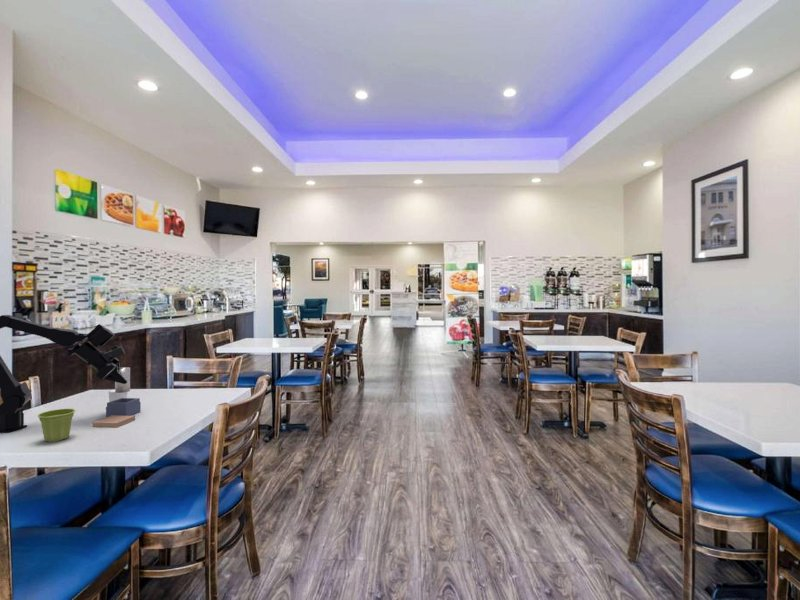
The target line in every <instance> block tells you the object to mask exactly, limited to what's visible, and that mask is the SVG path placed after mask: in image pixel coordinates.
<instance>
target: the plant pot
mask: <svg viewBox="0 0 800 600" xmlns="http://www.w3.org/2000/svg"><path fill="white" fill-rule="evenodd" d="M75 412H76V409H75V408H60V409H52V410H51V409H50V410H47V411H44V412H40V413H38V414H37V417H38V418H39V421H40V424H41V428H42V434H43V438H44V440H43V441H44V442H49V443H53V442H54V443H55V442H60V441H62V440H64V439H68V438H69V437H70V434H71V433H70V432H71V425H72V420H73V417H74V414H75Z"/></svg>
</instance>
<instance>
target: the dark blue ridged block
mask: <svg viewBox="0 0 800 600" xmlns="http://www.w3.org/2000/svg"><path fill="white" fill-rule="evenodd" d="M141 403H142V402H141V400H140V398H139V397H134V398H133V397H127V398H120V399H117V400H114V401H111V402H109V401H108V402H106V407H105V418H107V417H109V416H112V415H117V416H135V415H136V414H138V413H140V412H141V409H142V408H141Z"/></svg>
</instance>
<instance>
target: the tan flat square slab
mask: <svg viewBox="0 0 800 600" xmlns="http://www.w3.org/2000/svg"><path fill="white" fill-rule="evenodd" d="M135 420H136V416H135V415H131V416H117V415H112V416H109V417H104V418H102V419H99V420H97V421H93V422H92V427H93V428H119V427H121V426H124V425H126V424H128V423H130V422H133V421H135Z"/></svg>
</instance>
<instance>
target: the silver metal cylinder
mask: <svg viewBox="0 0 800 600" xmlns="http://www.w3.org/2000/svg"><path fill="white" fill-rule="evenodd" d="M118 372H119V373H120V374H121V375H122V376H123V377H124V378H125V380H126V381H127V383H126V384H122V383H118V382H114V389H115V393H124V392H127V393H129V392H130V391H131V367H130V366H129V367H128V366H127V367H126V366H125V367H123V366H121V367H120V368H118Z"/></svg>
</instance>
